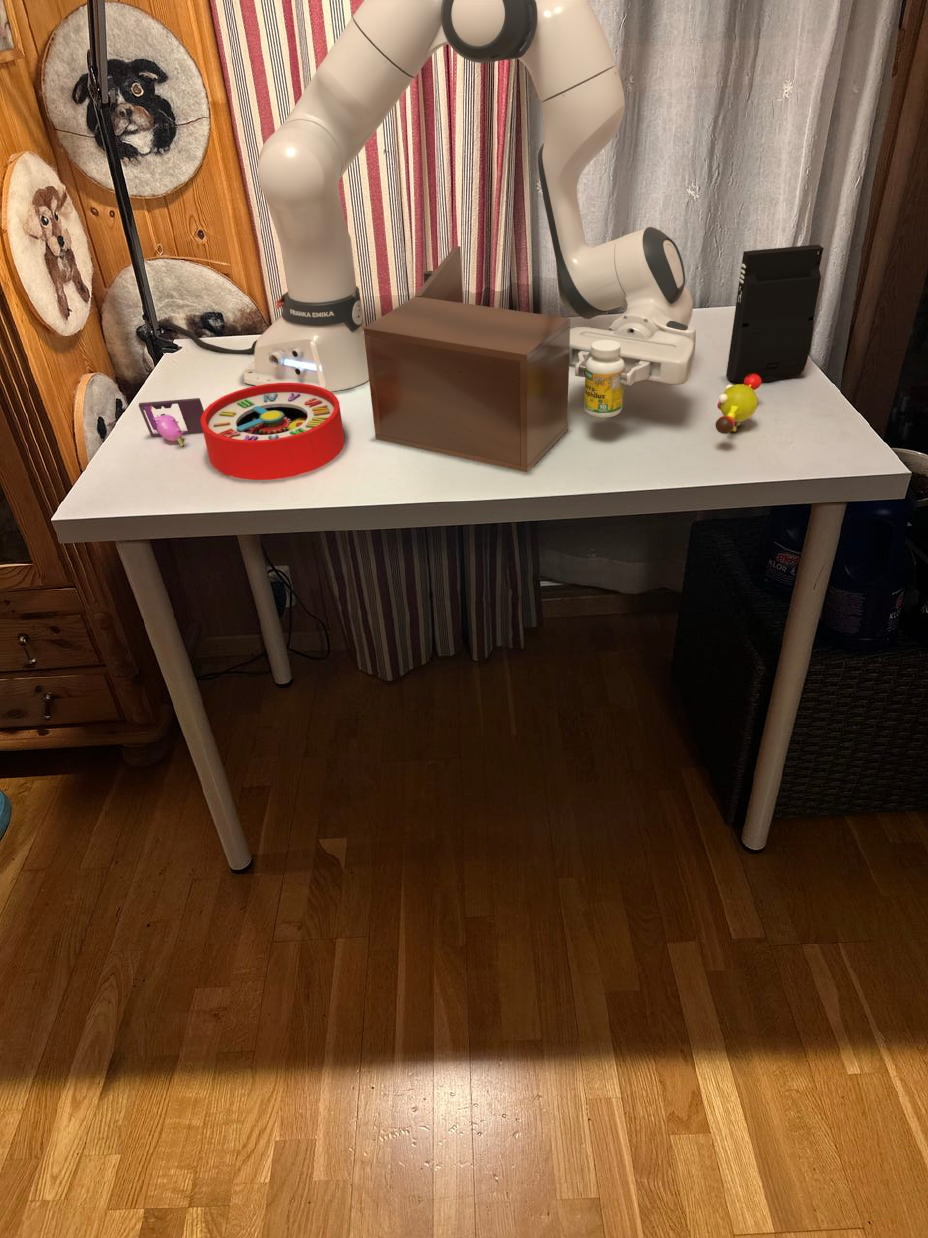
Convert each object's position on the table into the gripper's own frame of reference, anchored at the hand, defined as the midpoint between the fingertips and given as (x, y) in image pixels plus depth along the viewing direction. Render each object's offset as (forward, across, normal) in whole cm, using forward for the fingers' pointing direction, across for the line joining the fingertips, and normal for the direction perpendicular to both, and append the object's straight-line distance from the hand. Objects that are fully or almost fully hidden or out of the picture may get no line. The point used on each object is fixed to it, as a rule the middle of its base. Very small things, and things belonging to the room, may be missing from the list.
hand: (602, 375), depth 127 cm
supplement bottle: (-1, 0, +6) cm, 6 cm away
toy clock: (+20, -43, +11) cm, 49 cm away
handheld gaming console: (-31, +16, +10) cm, 37 cm away
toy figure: (-12, +16, +10) cm, 23 cm away
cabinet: (+5, -18, +10) cm, 22 cm away
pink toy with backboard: (+24, -58, +11) cm, 64 cm away
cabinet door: (-14, -37, +11) cm, 40 cm away
